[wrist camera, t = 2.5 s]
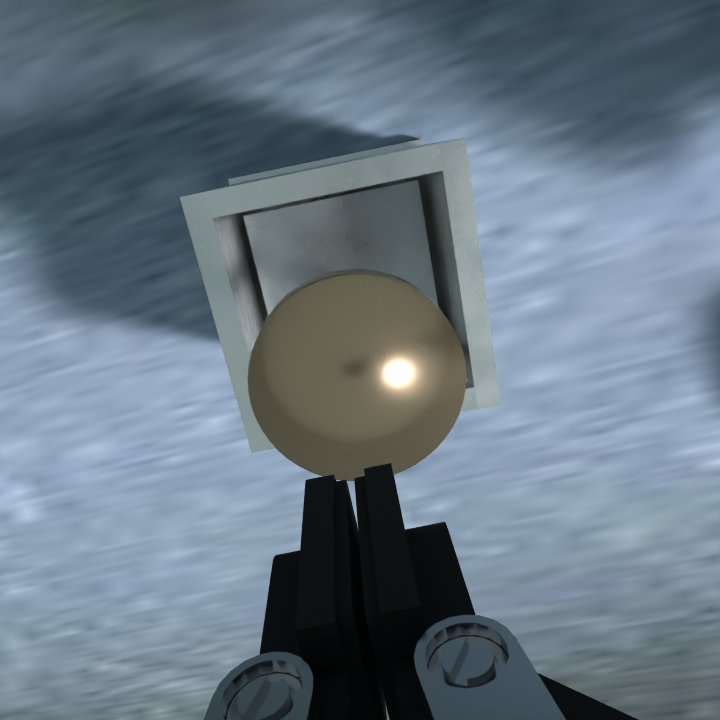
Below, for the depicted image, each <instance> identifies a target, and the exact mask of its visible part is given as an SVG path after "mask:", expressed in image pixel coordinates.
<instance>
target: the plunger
mask: <svg viewBox="0 0 720 720" xmlns="http://www.w3.org/2000/svg"><path fill="white" fill-rule="evenodd" d="M243 217H244V221H245V225H246V229H247V233H248V237H249V241H250V245H251V249H252V253H253V257H254V261H255V265H256V269H257V273H258V277H259V281H260V285H261V289H262V293H263V297H264V301H265V305H266V309H267V313H268V317H267V318H266V320H265V322H264V324H263V326H262V328H261V330H260V332H259V334H258V336H257V339H256V341H255V344H254V347H253V349H252V352H251V357H250V361H249V367H248V393H249V398H250V403H251V407H252V409H253V412H254V415H255V418H256V420H257V422H258V424H259V426H260V428H261V430H262V431H263V433H264V434H265V435H266V437H267V438H268V440H269V441H270V442H271V443H272V444H273V445H274V447H275V448H276V449H277V450H278V451H279V452H280V453H282V454H283V455H284V456H285V457H286V458H288V459H289V460H290V461H292V462H293V463H295V464H296V465H298V466H300V467H302V468H304V469H306V470H308V471H310V472H312V473H315V474H318V475H321V476H328V475H333V474H334V476H335V479H337V480H346V481H355V480H354V478H356V477H361V476H365V475H364V468H368V467H373V466H378V465H383V464H388V463H391V464H392V469H393V474H397V473H399V472H402V471H404V470H406V469H408V468H410V467H412V466H414V465H416V464H417V463H418V462H420V461H421V460H423V459H424V458H426V457H427V456H428V455H429V454H430V453H431V452H433V451H434V450H435V449H436V448H437V447H438V446H439V445H440V444H441V442H442V441H443V440H444V439H445V438H446V436H447V435H448V433H449V432H450V430H451V429H452V427H453V426H454V424H455V422H456V420H457V418H458V416H459V413H460V410H461V407H462V404H463V400H464V395H465V390H466V364H465V359H464V354H463V350H462V347H461V344H460V342H459V339H458V336H457V335H456V333H455V331H454V329H453V327H452V325H451V324H450V322H449V321H448V319H447V318H446V317H445V315H444V314H443V312H442V311H441V310H440V308H439V307H438V302H437V295H436V289H435V283H434V277H433V270H432V264H431V258H430V252H429V245H428V239H427V233H426V226H425V220H424V214H423V208H422V201H421V195H420V189H419V183H418V180H412V181H407V182H403V183H398V184H393V185H388V186H383V187H378V188H374V189H369V190H364V191H359V192H354V193H349V194H344V195H340V196H335V197H330V198H325V199H320V200H315V201H310V202H306V203H301V204H296V205H291V206H286V207H281V208H276V209H272V210H267V211H262V212H257V213H252V214H247V215H244V216H243Z"/></svg>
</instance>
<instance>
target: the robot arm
mask: <svg viewBox="0 0 720 720" xmlns="http://www.w3.org/2000/svg"><path fill="white" fill-rule="evenodd" d="M364 475H365V476H361V477H356V478H354V480H355V493H356V506H357V518H358V528H357V523H356V519H355V515H354V510H353V506H352V502H351V497H350V493H349V489H348V484H347V481H346V480H341V481H336V479H335V476H334V474H333V475H328V476H323V477H318V478H313V479H308V480H306V482H305V495H304V509H303V522H302V535H301V549H300V551H295V552H290V553H285V554H280V555H276V556H275V557H274V559H273V564H272V571H271V578H270V585H269V592H268V599H267V606H266V613H265V620H264V627H263V634H262V641H261V648H260V655H257V656H255V657H253V658H251V659H248V660H246V661H244V662H243V663H241V664H240V665H238V666H237V667H236V668H234V669H233V670H231V671H230V672H229V674H228V675H227V676H226V677H225V678H224V679H223V680H222V681H221V682H220V684H219V686H218V687H217V689H216V691H215V693H214V695H213V697H212V699H211V702H210V704H209V707H208V710H207V712H206V715H205V718H204V720H387V715H386V707H387V711H388V715H389V719H390V720H638V719H636V718H634V717H631V716H629V715H627V714H625V713H623V712H621V711H618V710H616V709H614V708H612V707H610V706H608V705H605V704H603V703H601V702H599V701H597V700H595V699H593V698H590V697H588V696H586V695H584V694H582V693H580V692H577V691H575V690H573V689H571V688H569V687H567V686H564V685H562V684H560V683H558V682H556V681H554V680H552V679H549V678H547V677H545V676H543V675H541V674H539V673H537V672H536V670H535V668H534V667H533V665H532V664H531V662H530V660H529V659H528V657H527V655H526V654H525V652H524V651H523V649H522V647H521V646H520V644H519V642H518V641H517V639H516V638H515V636H514V635H513V634H512V633H511V632H510V631H509V630H508V628H507V627H505V626H504V625H502V624H500V623H499V622H497V621H495V620H494V619H490V618H487V617H483V616H480V615H475V612H474V609H473V606H472V603H471V599H470V596H469V593H468V590H467V587H466V584H465V581H464V578H463V575H462V572H461V568H460V565H459V562H458V559H457V556H456V553H455V550H454V547H453V544H452V540H451V537H450V534H449V531H448V528H447V525H446V523H445V522H441V523H436V524H431V525H426V526H421V527H416V528H411V529H406V530H405V528H404V523H403V518H402V513H401V508H400V504H399V499H398V494H397V489H396V484H395V479H394V474H393V469H392V464H391V463H388V464H383V465H378V466H373V467H368V468H364ZM358 531H359V532H358ZM385 702H386V706H385Z"/></svg>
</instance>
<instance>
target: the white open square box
mask: <svg viewBox="0 0 720 720" xmlns="http://www.w3.org/2000/svg"><path fill="white" fill-rule="evenodd" d="M412 180H418V183H419V189H420V195H421V201H422V208H423V214H424V220H425V226H426V233H427V239H428V245H429V252H430V258H431V264H432V270H433V277H434V283H435V289H436V295H437V302H438V307H439V308H440V310H441V311H442V312H443V314H444V315H445V317H446V318H447V319H448V321H449V322H450V324H451V325H452V327H453V329H454V331H455V333H456V335H457V336H458V339H459V342H460V344H461V347H462V350H463V354H464V359H465V364H466V390H465V395H464V400H463V404H462V407H461V410H460V412H462V411H467V410H473V409H478V408H483V407H488V406H493V405H498V404H500V397H499V389H498V382H497V374H496V367H495V359H494V352H493V344H492V337H491V329H490V322H489V314H488V307H487V299H486V292H485V284H484V277H483V269H482V262H481V254H480V247H479V239H478V232H477V224H476V217H475V209H474V202H473V194H472V187H471V179H470V172H469V164H468V157H467V149H466V142H465V138H461V139H455V140H449V141H443V142H437V143H431V144H425V143H424V138H423V139H419V140H414V141H409V142H404V143H399V144H395V145H390V146H385V147H380V148H375V149H370V150H366V151H361V152H356V153H351V154H346V155H342V156H337V157H332V158H327V159H322V160H317V161H313V162H308V163H303V164H298V165H293V166H289V167H284V168H279V169H274V170H269V171H264V172H260V173H255V174H250V175H245V176H240V177H236V178H231V179H228V182H229V185H228V186H223V187H219V188H215V189H211V190H207V191H203V192H199V193H194V194H190V195H186V196H182V197H180V200H181V204H182V207H183V211H184V215H185V218H186V222H187V225H188V229H189V232H190V236H191V239H192V243H193V247H194V250H195V254H196V257H197V261H198V264H199V268H200V271H201V275H202V278H203V282H204V286H205V289H206V293H207V296H208V300H209V303H210V307H211V310H212V314H213V318H214V321H215V325H216V328H217V332H218V335H219V339H220V342H221V346H222V349H223V353H224V357H225V360H226V364H227V367H228V371H229V374H230V378H231V381H232V385H233V388H234V392H235V396H236V399H237V403H238V406H239V410H240V413H241V417H242V420H243V424H244V428H245V431H246V435H247V438H248V442H249V445H250V449H251V452H252V453H253V452H258V451H263V450H268V449H273V448H275V447H274V445H273V444H272V443H271V442H270V441H269V440H268V438H267V437H266V435H265V434H264V433H263V431H262V430H261V428H260V426H259V424H258V422H257V420H256V418H255V415H254V412H253V409H252V407H251V403H250V398H249V393H248V367H249V361H250V357H251V352H252V349H253V347H254V344H255V341H256V339H257V336H258V334H259V332H260V330H261V328H262V326H263V324H264V322H265V320H266V318H267V317H268V313H267V309H266V305H265V301H264V297H263V293H262V289H261V285H260V281H259V277H258V273H257V269H256V265H255V261H254V257H253V253H252V249H251V245H250V241H249V237H248V233H247V229H246V225H245V221H244V217H243V216H244V215H247V214H252V213H257V212H262V211H267V210H272V209H276V208H281V207H286V206H291V205H296V204H301V203H306V202H310V201H315V200H320V199H325V198H330V197H335V196H340V195H344V194H349V193H354V192H359V191H364V190H369V189H374V188H378V187H383V186H388V185H393V184H398V183H403V182H407V181H412Z"/></svg>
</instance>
